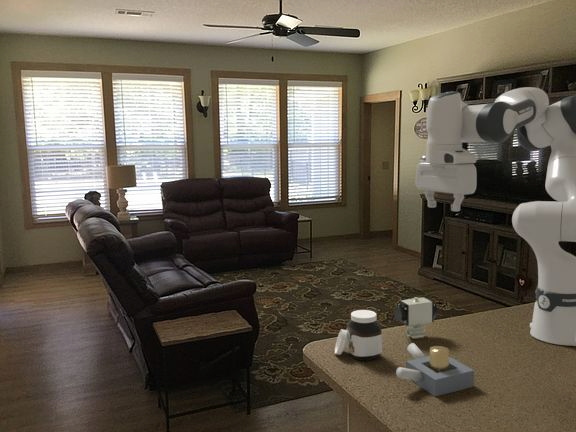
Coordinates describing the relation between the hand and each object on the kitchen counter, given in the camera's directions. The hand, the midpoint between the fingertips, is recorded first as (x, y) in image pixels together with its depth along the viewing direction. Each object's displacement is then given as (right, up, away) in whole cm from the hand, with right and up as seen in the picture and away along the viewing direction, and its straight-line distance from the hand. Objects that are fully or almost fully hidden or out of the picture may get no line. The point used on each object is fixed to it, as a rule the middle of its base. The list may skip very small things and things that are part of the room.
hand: (443, 209), depth 132 cm
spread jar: (-22, -40, +5) cm, 46 cm away
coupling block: (-9, -41, -10) cm, 43 cm away
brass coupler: (-5, -41, -12) cm, 43 cm away
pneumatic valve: (-3, -38, +17) cm, 41 cm away
